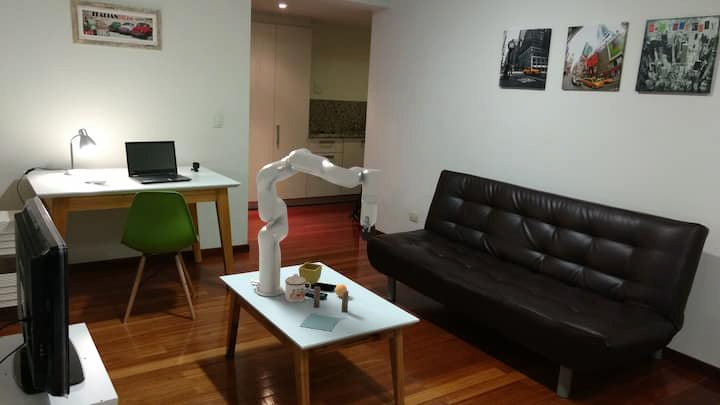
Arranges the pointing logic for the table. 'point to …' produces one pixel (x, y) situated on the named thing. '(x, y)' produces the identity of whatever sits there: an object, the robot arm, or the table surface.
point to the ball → (340, 289)
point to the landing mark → (320, 322)
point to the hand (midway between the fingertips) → (368, 237)
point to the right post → (345, 301)
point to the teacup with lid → (296, 288)
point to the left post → (316, 297)
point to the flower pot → (310, 272)
